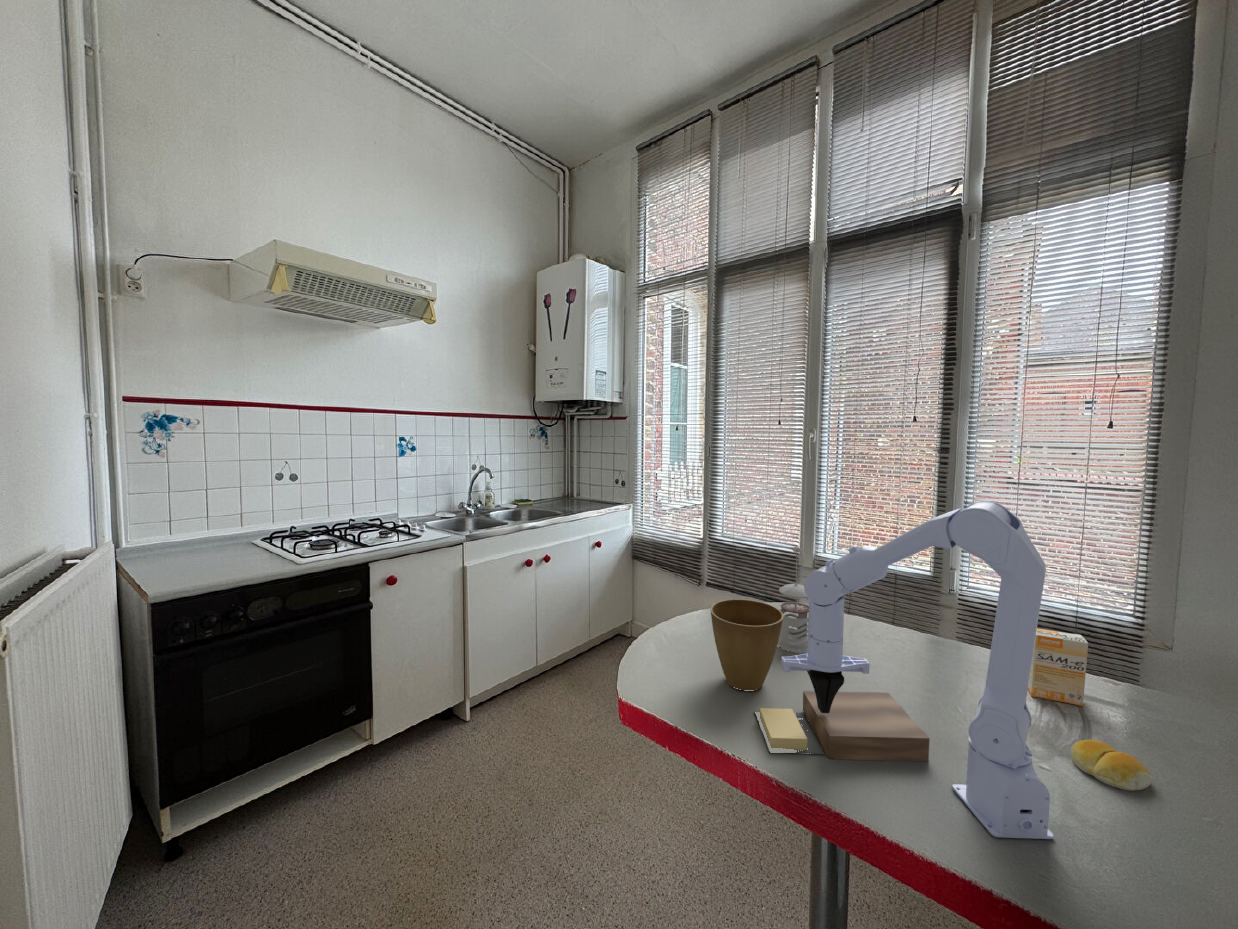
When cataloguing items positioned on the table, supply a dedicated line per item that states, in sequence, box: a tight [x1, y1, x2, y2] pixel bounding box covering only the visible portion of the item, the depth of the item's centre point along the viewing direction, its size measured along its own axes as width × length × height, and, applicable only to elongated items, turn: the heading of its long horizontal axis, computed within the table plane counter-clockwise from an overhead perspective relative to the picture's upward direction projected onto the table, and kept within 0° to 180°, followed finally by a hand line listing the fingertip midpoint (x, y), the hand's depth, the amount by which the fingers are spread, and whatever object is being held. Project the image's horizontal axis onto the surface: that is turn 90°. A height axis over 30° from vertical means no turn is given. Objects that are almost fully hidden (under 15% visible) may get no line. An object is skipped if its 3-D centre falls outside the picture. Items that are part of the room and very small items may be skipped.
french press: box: [778, 546, 809, 654], centre depth 126 cm, size 10×12×25 cm
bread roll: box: [1070, 739, 1153, 792], centre depth 80 cm, size 8×9×4 cm
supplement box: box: [1027, 627, 1089, 707], centre depth 101 cm, size 8×5×13 cm, turn 62°
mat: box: [795, 711, 825, 755], centre depth 91 cm, size 12×9×1 cm
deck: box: [802, 690, 930, 762], centre depth 90 cm, size 14×16×4 cm
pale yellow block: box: [759, 707, 807, 750], centre depth 90 cm, size 9×6×2 cm, turn 177°
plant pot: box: [710, 598, 784, 690], centre depth 107 cm, size 15×15×16 cm
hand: (823, 710), depth 89 cm, fingers closed
